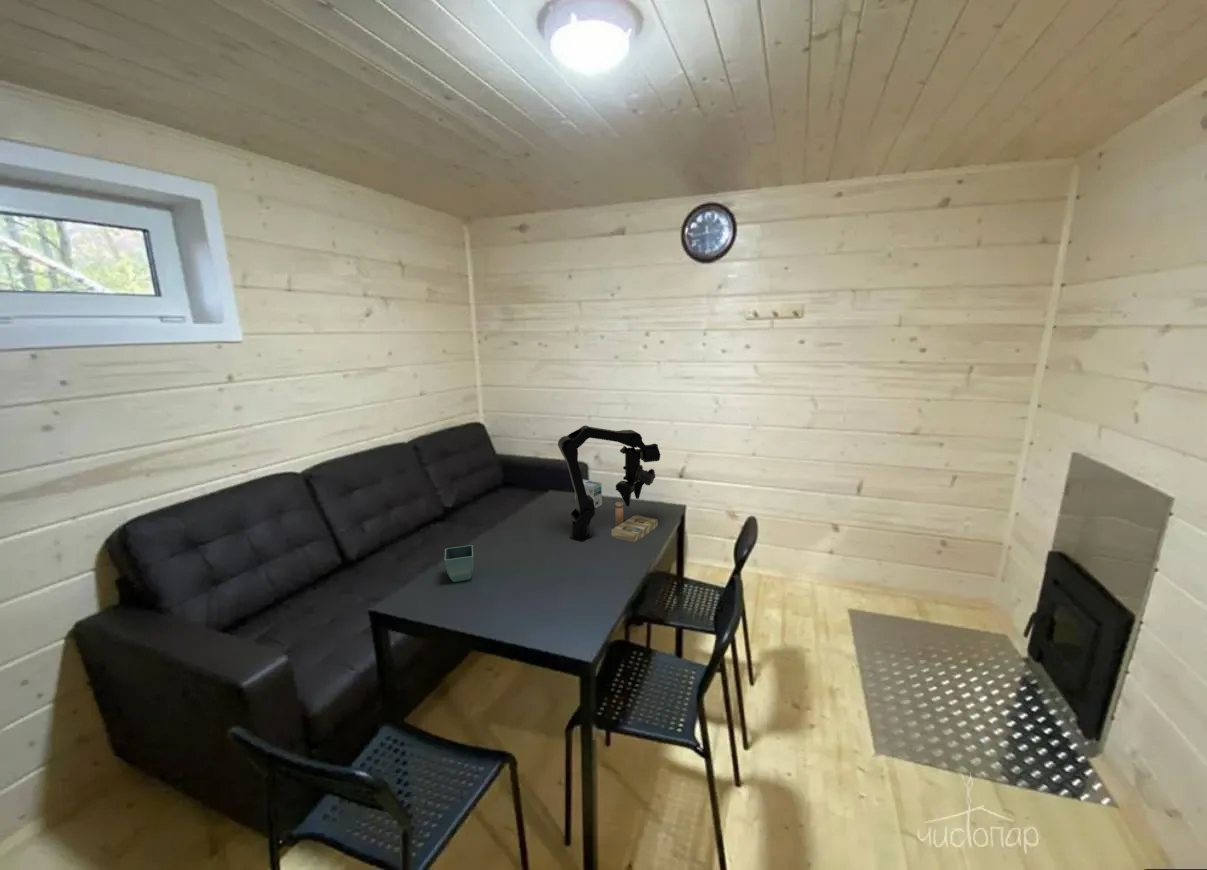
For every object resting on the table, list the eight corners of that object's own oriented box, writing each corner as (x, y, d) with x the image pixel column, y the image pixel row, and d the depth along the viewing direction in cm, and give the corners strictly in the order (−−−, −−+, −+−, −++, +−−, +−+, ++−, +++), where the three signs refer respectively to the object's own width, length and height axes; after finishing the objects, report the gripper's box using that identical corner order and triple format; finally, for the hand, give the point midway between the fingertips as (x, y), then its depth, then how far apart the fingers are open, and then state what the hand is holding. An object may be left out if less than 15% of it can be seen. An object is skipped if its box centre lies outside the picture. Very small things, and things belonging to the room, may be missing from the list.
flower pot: (446, 586, 159) (444, 560, 157) (447, 573, 167) (444, 548, 165) (475, 582, 161) (473, 556, 159) (474, 569, 169) (472, 544, 167)
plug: (620, 526, 202) (620, 505, 200) (613, 525, 204) (613, 503, 202) (625, 524, 205) (625, 502, 203) (618, 522, 207) (617, 501, 205)
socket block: (634, 542, 187) (634, 534, 187) (611, 537, 193) (611, 529, 192) (657, 526, 202) (657, 518, 201) (635, 521, 207) (635, 514, 207)
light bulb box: (602, 504, 228) (602, 481, 225) (594, 509, 222) (593, 486, 220) (583, 501, 233) (582, 478, 231) (574, 505, 228) (573, 482, 225)
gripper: (642, 472, 182) (642, 513, 185) (661, 459, 198) (660, 497, 202) (614, 468, 187) (615, 508, 190) (634, 456, 203) (635, 494, 207)
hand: (632, 502), depth 197 cm, fingers open, 9 cm apart
